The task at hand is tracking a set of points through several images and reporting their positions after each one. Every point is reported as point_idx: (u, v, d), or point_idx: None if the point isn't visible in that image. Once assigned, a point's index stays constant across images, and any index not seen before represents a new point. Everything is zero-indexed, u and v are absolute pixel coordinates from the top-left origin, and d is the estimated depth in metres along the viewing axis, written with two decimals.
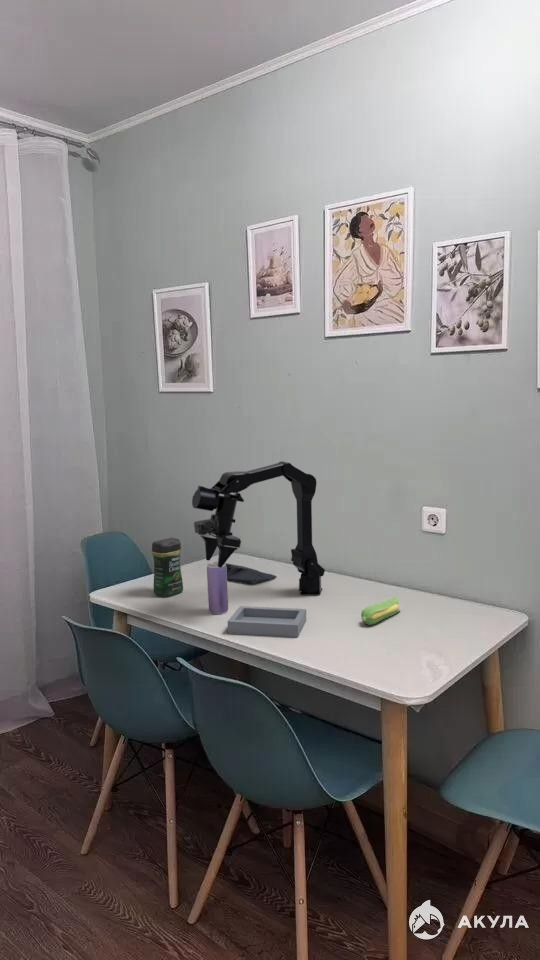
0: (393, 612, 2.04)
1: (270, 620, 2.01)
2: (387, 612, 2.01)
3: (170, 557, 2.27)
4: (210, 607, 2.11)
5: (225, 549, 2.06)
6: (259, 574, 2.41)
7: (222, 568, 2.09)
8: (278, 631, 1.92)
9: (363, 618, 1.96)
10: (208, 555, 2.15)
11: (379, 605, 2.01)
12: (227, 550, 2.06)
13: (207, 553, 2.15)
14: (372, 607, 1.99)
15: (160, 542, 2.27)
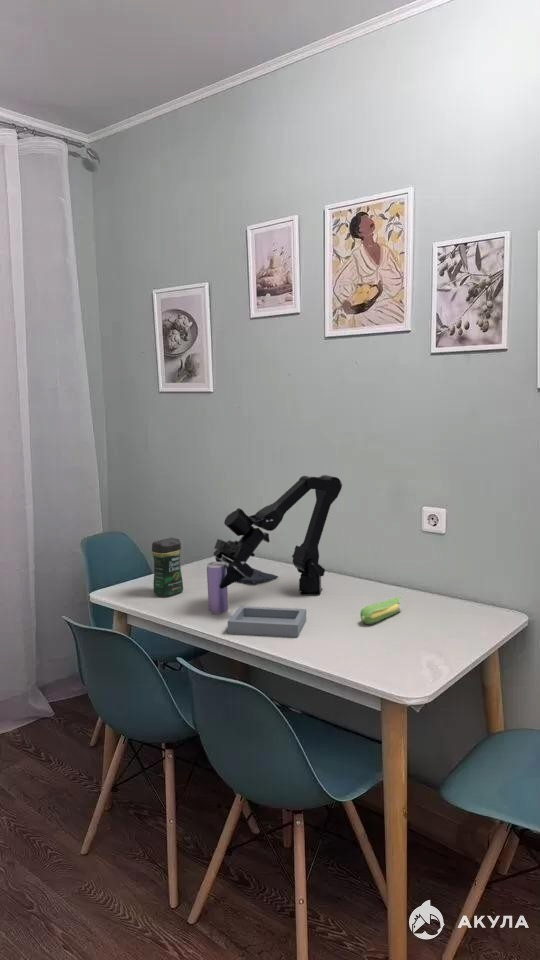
0: (393, 612, 2.04)
1: (270, 620, 2.01)
2: (387, 612, 2.02)
3: (170, 557, 2.27)
4: (210, 607, 2.11)
5: (233, 573, 2.09)
6: (260, 574, 2.41)
7: (222, 568, 2.09)
8: (278, 631, 1.92)
9: (362, 617, 1.97)
10: None
11: (379, 605, 2.02)
12: (235, 575, 2.09)
13: None
14: (371, 606, 2.00)
15: (160, 542, 2.27)
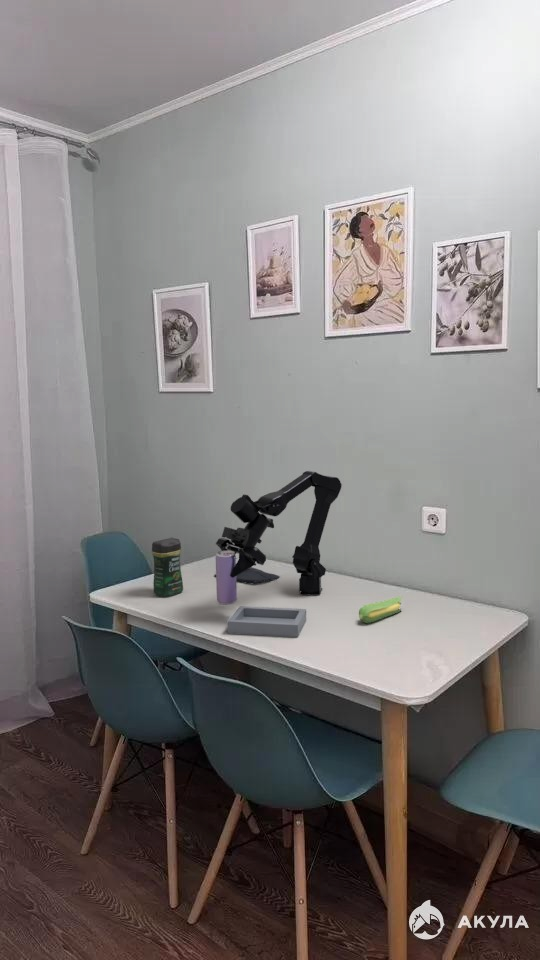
0: (393, 611, 2.05)
1: (270, 620, 2.01)
2: (386, 611, 2.02)
3: (170, 557, 2.27)
4: (220, 597, 2.05)
5: (244, 561, 2.04)
6: (262, 574, 2.41)
7: (233, 557, 2.03)
8: (278, 631, 1.92)
9: (360, 616, 1.98)
10: None
11: (378, 604, 2.02)
12: (245, 563, 2.04)
13: None
14: (370, 606, 2.00)
15: (160, 542, 2.27)
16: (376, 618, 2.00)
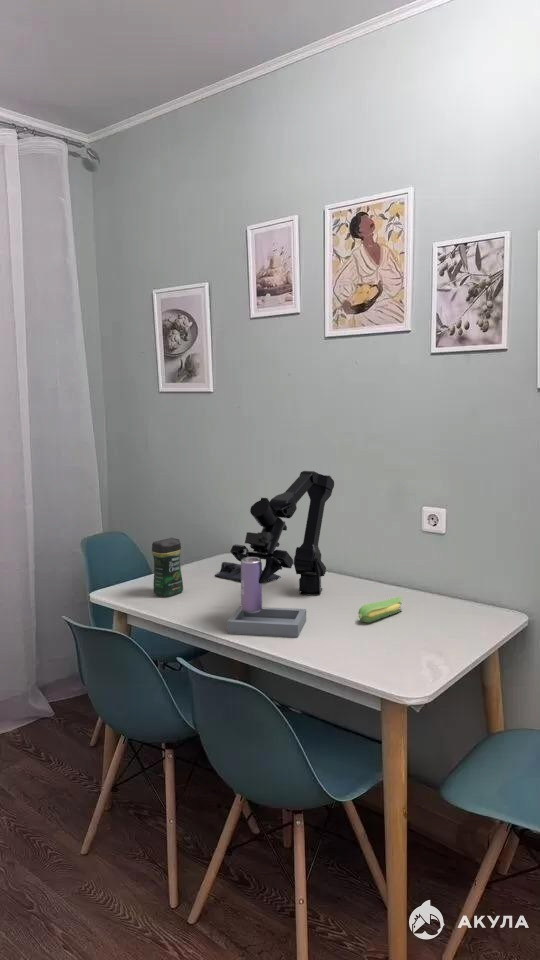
0: (393, 611, 2.05)
1: (270, 620, 2.01)
2: (386, 611, 2.02)
3: (170, 557, 2.27)
4: (247, 606, 1.97)
5: (270, 566, 1.98)
6: None
7: (260, 563, 1.96)
8: (278, 631, 1.92)
9: (359, 616, 1.98)
10: None
11: (378, 604, 2.03)
12: (271, 568, 1.99)
13: None
14: (370, 605, 2.01)
15: (160, 542, 2.27)
16: (376, 618, 2.00)
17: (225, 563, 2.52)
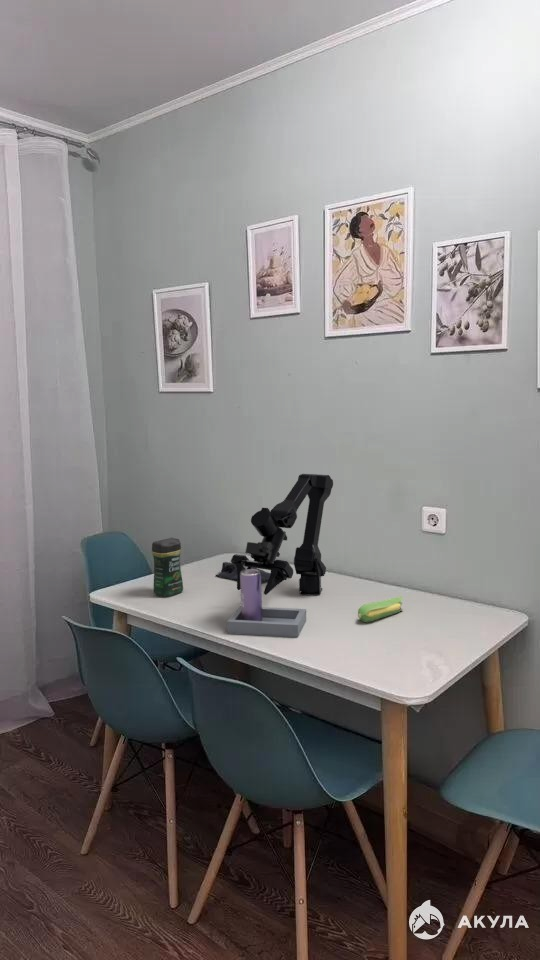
0: (393, 611, 2.05)
1: (270, 620, 2.01)
2: (386, 611, 2.03)
3: (170, 557, 2.27)
4: (248, 618, 1.97)
5: (275, 577, 1.98)
6: (263, 574, 2.41)
7: (259, 575, 1.97)
8: (278, 631, 1.92)
9: (359, 615, 1.99)
10: (239, 584, 2.01)
11: (378, 603, 2.03)
12: (276, 578, 1.98)
13: (239, 582, 2.01)
14: (369, 605, 2.01)
15: (160, 542, 2.27)
16: (375, 617, 2.00)
17: (226, 563, 2.52)
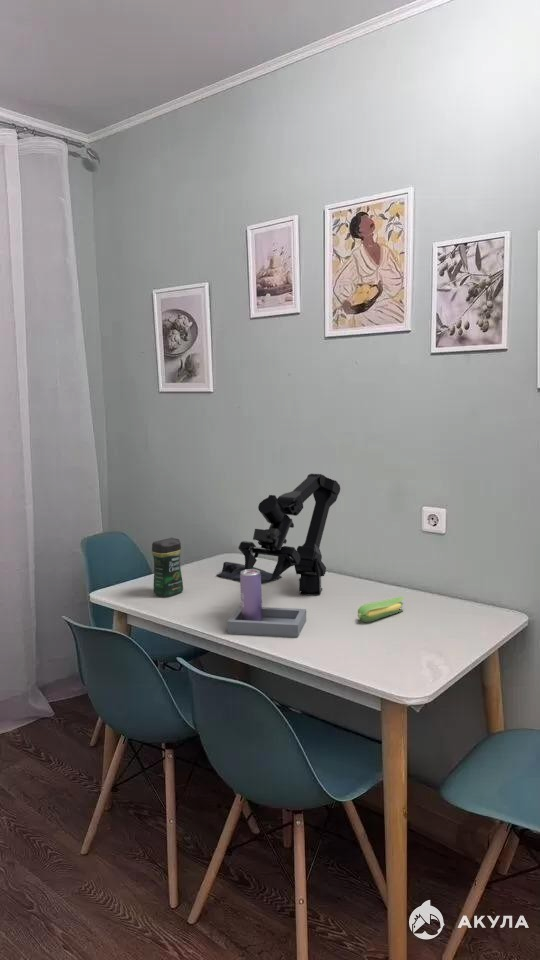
0: (393, 611, 2.05)
1: (270, 620, 2.01)
2: (386, 611, 2.03)
3: (170, 557, 2.27)
4: (248, 618, 1.97)
5: (282, 563, 2.01)
6: (264, 574, 2.41)
7: (259, 575, 1.97)
8: (278, 631, 1.92)
9: (358, 615, 1.99)
10: None
11: (378, 603, 2.03)
12: (283, 564, 2.01)
13: (247, 568, 2.04)
14: (369, 605, 2.01)
15: (160, 542, 2.27)
16: (375, 617, 2.00)
17: (227, 563, 2.52)
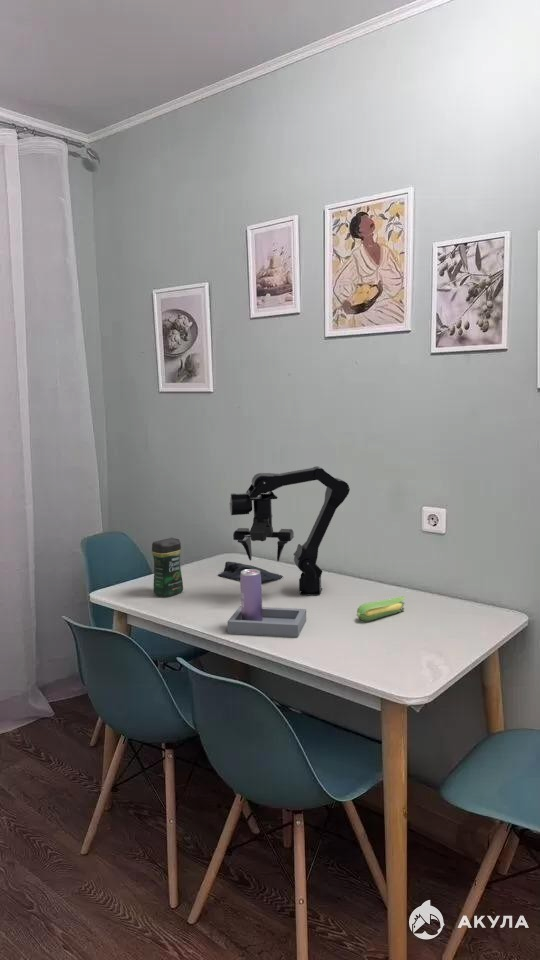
0: (394, 611, 2.05)
1: (270, 620, 2.01)
2: (385, 610, 2.03)
3: (170, 557, 2.27)
4: (248, 618, 1.97)
5: None
6: (265, 574, 2.41)
7: (259, 575, 1.97)
8: (278, 631, 1.92)
9: (357, 614, 2.00)
10: (250, 555, 2.25)
11: (378, 603, 2.03)
12: None
13: (249, 554, 2.24)
14: (369, 604, 2.02)
15: (160, 542, 2.27)
16: (374, 617, 2.01)
17: (229, 563, 2.53)
